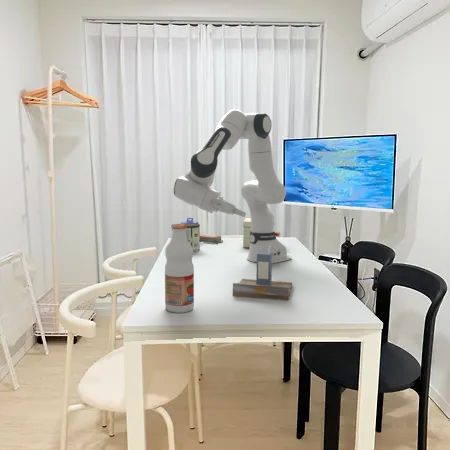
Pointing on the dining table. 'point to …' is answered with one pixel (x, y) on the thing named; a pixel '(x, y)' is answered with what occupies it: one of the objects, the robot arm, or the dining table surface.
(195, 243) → the coffee can
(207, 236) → the packaged product
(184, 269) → the fruit juice
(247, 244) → the gift box
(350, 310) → the dining table surface
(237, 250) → the dining table surface
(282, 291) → the shelf board
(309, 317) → the dining table surface
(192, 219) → the ink cartridge box
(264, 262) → the carton
